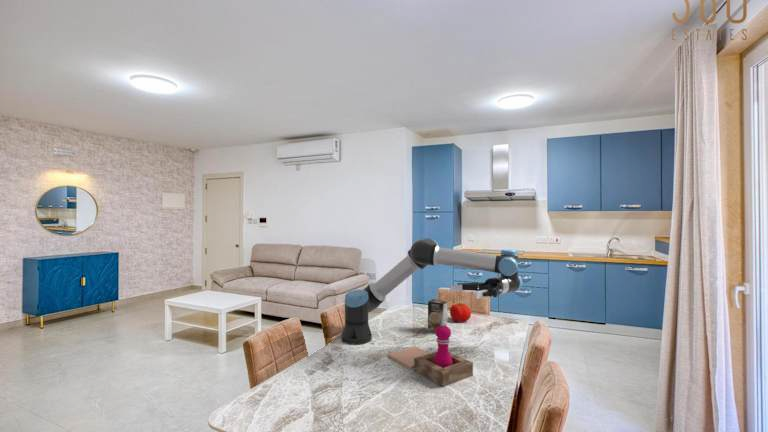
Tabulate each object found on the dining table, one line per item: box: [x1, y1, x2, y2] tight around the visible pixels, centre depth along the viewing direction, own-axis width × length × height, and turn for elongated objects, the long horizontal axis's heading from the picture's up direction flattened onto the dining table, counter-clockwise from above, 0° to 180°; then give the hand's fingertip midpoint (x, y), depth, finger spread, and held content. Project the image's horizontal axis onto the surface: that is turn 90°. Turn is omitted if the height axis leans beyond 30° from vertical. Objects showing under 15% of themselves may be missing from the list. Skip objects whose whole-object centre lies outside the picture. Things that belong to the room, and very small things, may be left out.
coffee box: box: [427, 298, 448, 333], centre depth 188 cm, size 9×6×16 cm
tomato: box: [449, 302, 472, 323], centre depth 207 cm, size 11×13×10 cm
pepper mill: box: [434, 322, 452, 368], centre depth 137 cm, size 7×7×20 cm
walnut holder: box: [413, 351, 474, 388], centre depth 137 cm, size 16×16×5 cm
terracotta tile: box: [386, 345, 431, 370], centre depth 152 cm, size 16×16×1 cm
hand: (463, 292), depth 144 cm, fingers open, 13 cm apart
